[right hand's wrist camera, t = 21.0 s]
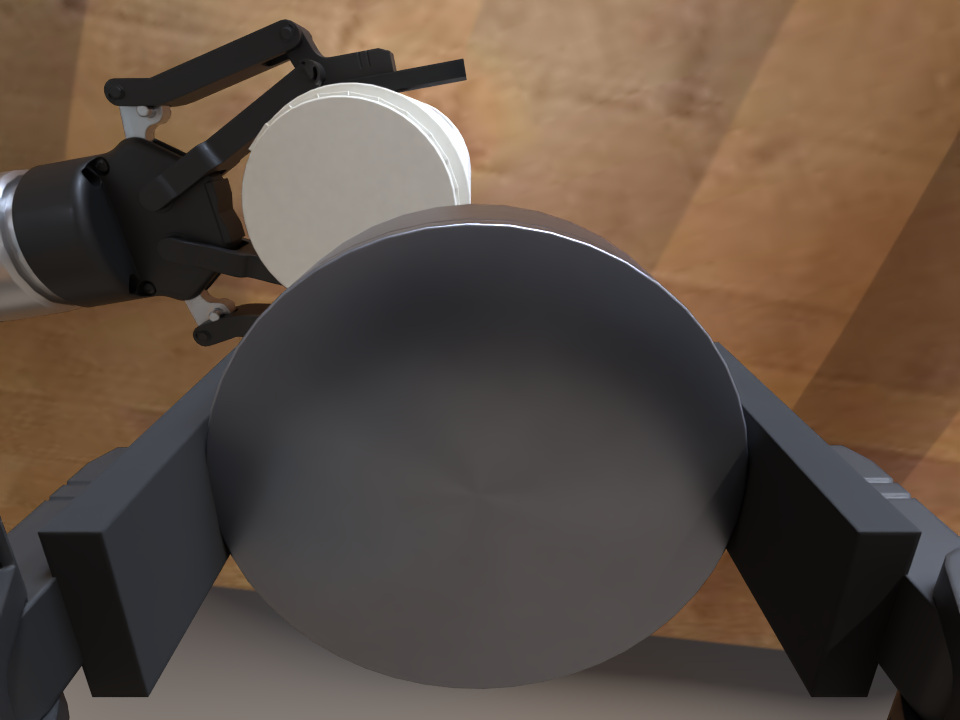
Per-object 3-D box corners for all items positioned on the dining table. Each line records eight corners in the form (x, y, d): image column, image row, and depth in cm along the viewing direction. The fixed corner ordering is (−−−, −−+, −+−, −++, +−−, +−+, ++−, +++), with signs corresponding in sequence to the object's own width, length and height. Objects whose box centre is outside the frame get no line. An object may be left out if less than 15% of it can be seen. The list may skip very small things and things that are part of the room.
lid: (161, 440, 12) (98, 504, 10) (466, 84, 10) (463, 76, 8) (484, 667, 14) (485, 754, 12) (795, 425, 12) (858, 486, 10)
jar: (498, 163, 37) (520, 197, 20) (415, 264, 39) (374, 369, 23) (391, 67, 35) (318, 17, 18) (310, 179, 37) (180, 226, 21)
